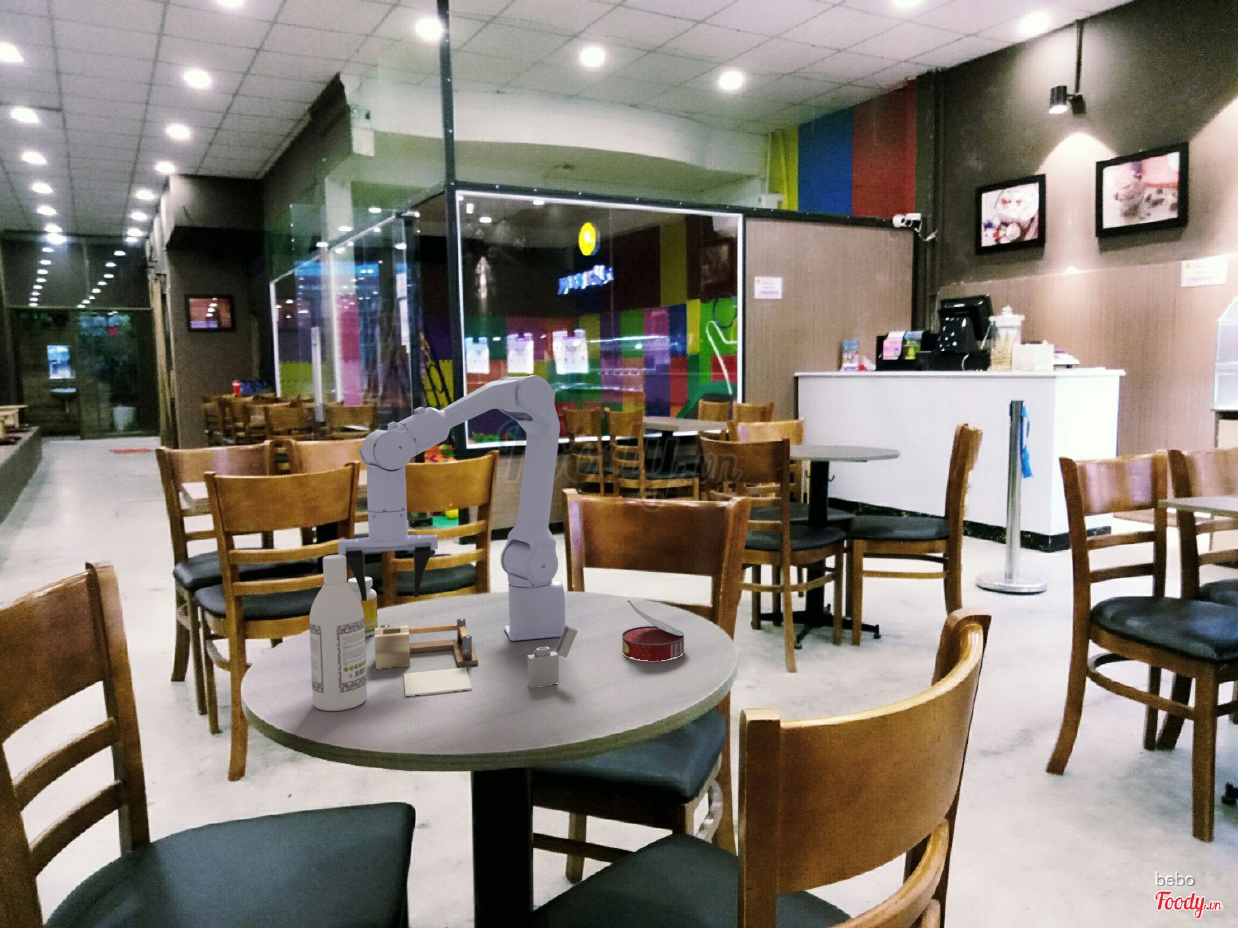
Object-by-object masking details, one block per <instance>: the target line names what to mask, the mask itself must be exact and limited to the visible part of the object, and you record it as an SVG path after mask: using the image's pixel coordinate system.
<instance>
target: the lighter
mask: <svg viewBox="0 0 1238 928" xmlns="http://www.w3.org/2000/svg"><path fill="white" fill-rule="evenodd" d="M578 631H579V630H578V629H576V628H575V627H572V626H570V625H568V624H565V628H564V630H563V633H562V635H561V636H560V637H559V640H558V643H557V644H556V647H555V650H554V651H551V648H550V646H542V647H537V648H535V650H534V651H533V653H532V654H527V656H526V657H527V686H530V687H531V688H530V687H529V688H530V689H535V688H534V687H538V686H544V687H549V686H548V685H550V686H552V685H551V684H556V683H559V684H560V681H559V675H560V674H559V656H561V657H565V658H567V657H568V655H569V653H570V650H571V648H572V646H573V644H574V641H575V639H576V636H577V634H578ZM538 688H539V687H538Z"/></svg>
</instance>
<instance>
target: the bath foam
mask: <svg viewBox="0 0 1238 928" xmlns="http://www.w3.org/2000/svg"><path fill="white" fill-rule="evenodd" d="M322 569H323V573H322V574H323V585H322V587H321V589H320V590H319V592H318V593H317V595H316V597H315V599H314V600H313V602H312V604H311V608H310V612H309V620H308V622H309V626H308V627H309V644H310V647H309V648H310V667H311V669H310V670H311V688H312V704H313V706H314V707H315V708H316V709H318V710H321V711H325V712H326V711H327V712H340V711H346V710H350V709H353V708H356V707H358V706H360V705H362V704H363V703H365V701H366V700H367V697H368V689H367V687H368V685H367V684H368V683H367V657H366V654H367V652H366V637H365V625H364V613H363V608H362V605H361V602H360V600H359V598H358V597H357V595H356V594H355V592H354V591H353V590H352V588H351V587H350V586H349V584H348V580H347V579H348V573H347V571H348V570H347V560H346V554H344V555H339V554H331V555H326V556H323V558H322Z"/></svg>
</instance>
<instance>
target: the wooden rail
mask: <svg viewBox="0 0 1238 928" xmlns="http://www.w3.org/2000/svg"><path fill="white" fill-rule="evenodd" d="M384 627H391V626H390V624H382V625H380V628H384ZM408 629H409V635H417V634H418V635H419V634H428V633H430V634H431V633H441V632H451V631H452V632H453V631H454V632H455V631H456V637H457V638H451V639H440V640H431V641H429V640H428V641H418V642H409V649H410V654H416V653H417V654H419V653H427V652H428V653H429V652H430V653H431V652H439V651H449V650H453V653H454V657H455V661H456V664H457V668H464V667H470V666H472V667H473V666H479V659H478V655H477V653H476V651H475V648H474V646H473V642H472V641H473V640H472V638H473V637H472V635H468V632H467V630H466V629H467V627H466V618H457V619H456V623H455V624H445V625H443V624H441V625H433V626H419V627H408Z"/></svg>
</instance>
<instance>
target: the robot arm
mask: <svg viewBox="0 0 1238 928" xmlns="http://www.w3.org/2000/svg"><path fill="white" fill-rule="evenodd" d="M555 399H556V391H555V389H553V387H552V386H551V385H550V383H548V381H547V380H546V379H545V378H543V377H542V376H539V375H537V374H534V375H529V376H510V375H508V376H507V375H505V376H503V377H501V378H499V379H498V380H493V381H490V382H487V383H486V384H484V385H483V386H480V387H478V388H477V389H475V390H474V391H471V392H470V393H468V394H466V395H464V396H463V397H461V398H459V399H457V400H456V401H454V402H452V403H451V404H449V405H447V406H445V407H444V408H442V409H440V410H439V409H437V408H435V407H431V406H429V407H423V406H419V407H417V408H415V409H413V412H414V414H413V415H410V416H408V417H406V418H404V419H402V420H400V421H398V422H396V421H392V422H389V423H387V430H375V431H372V432H370V433H368V434H367V436H366V437H365V439H363V440H362V443H361V448H359V450H358V453H359V456H360V457H359V458H360V459H361V460H362V462H363V463H364V464H365V465H366V492H367V493H366V494H367V495H366V497H367V499H366V500H367V518H368V519H367V521H368V523H367V525H368V526H367V527H368V536H367V537H358V538H350V539H349V538H348V539H339V540H338V541H337V546H338V547H337V548H338V551H337V553H338V554H337V555H345V556H346V563H347V564H348V567H349V568H350V570H351V572H352V574H353V575H354V576H353V577H354V578H356V581H357V583H358V586H359V589H360V593H361V599H362V601H367V590H366V582H365V577H366V575H365V553H377V552H393V551H394V552H395V551H410V550H411V551H413V597H414V598H420V588H421V583H422V579H423V575H424V573H425V570H426V567H427V564H428V563H429V560H430V558H431V555H432V551H431V550H438V547H439V545H438V535H437V534H408V533H409V532H408V508H407V479H406V477H407V476H406V467H407V465H408V464H409V463H410V461H411V459H412V458H413V457H416V456H417V455H420V454H421V453H423V452H425V451H427V450H429V449H431V448H432V447H434V446H436V445H438V444H440V443H442V442H444V441H446V440H447V439H448V437H449V434H450V430H451V429H452V428H454V427H456V426H458V425H460V424H462V423H464V422H466V421H469V420H472V419H473V418H475V417H477V416H479V415H482V414H484V413H486V412H488V411H491V410H495V409H496V410H499V411H500V412H502V413H503V414H505V415H506V416H508V417H510V418H511V419H513V420H515V421H516V423H517V424H518V425H519V426H520V427H521V428H522V429H523V431H524V432H525V433H526V440H525V441H526V442H525V449H524V450H525V451H524V460H523V468H522V476H521V485H520V492H519V500H518V501H519V502H518V510H517V519H516V520H517V521H516V525H515V526H514V527H513V528H512V529H511V530H510V531H509V532H508V535H507V539H506V540H507V541H506V543H505V546H504V547H503V549H502V551H501V554H500V565H501V568H502V570H503V571H504V572H505V574H507V581H508V614H509V615H508V625H504V630H505V632H506V634H507V636H508V638H509V640H510V641H511V642H515V641H525V640H536V639H547V638H560V637H561V635H562V633H563V630H564V628H565V626H566V597H565V589H564V585H563V582H562V580H553V579H554V578H555V576H556V574H557V573H558V570H559V558H558V556H557V551H556V547H557V546H556V545H557V540H556V538H555V537H554V535H553V534H552V532H551V530H550V527H549V525H550V518H551V508H552V500H553V493H554V484H555V483H554V482H555V475H556V468H557V467H556V465H557V457H558V449H559V439H560V432H561V423H560V419H559V416H558V412H557V410H556V404H555Z"/></svg>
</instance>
